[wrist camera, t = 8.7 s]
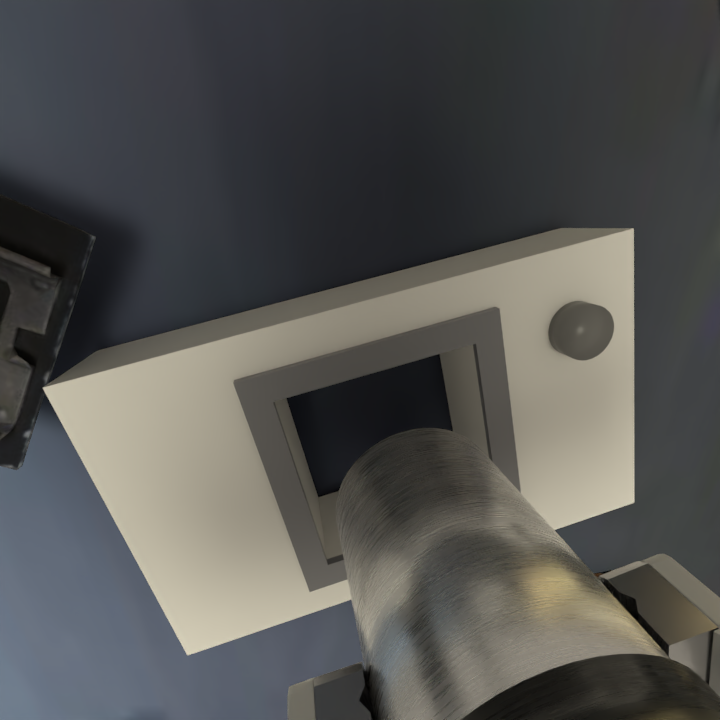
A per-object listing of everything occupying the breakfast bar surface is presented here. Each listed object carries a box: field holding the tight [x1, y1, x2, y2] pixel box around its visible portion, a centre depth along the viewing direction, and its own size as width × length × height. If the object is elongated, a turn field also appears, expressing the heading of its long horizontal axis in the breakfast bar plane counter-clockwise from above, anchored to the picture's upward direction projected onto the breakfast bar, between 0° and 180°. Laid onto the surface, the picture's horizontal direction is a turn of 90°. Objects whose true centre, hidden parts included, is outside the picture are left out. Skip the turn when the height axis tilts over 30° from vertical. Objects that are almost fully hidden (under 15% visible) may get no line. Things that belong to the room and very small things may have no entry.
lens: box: [336, 428, 720, 720], centre depth 8 cm, size 6×6×10 cm
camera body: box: [43, 228, 634, 655], centre depth 17 cm, size 12×20×5 cm, turn 103°
